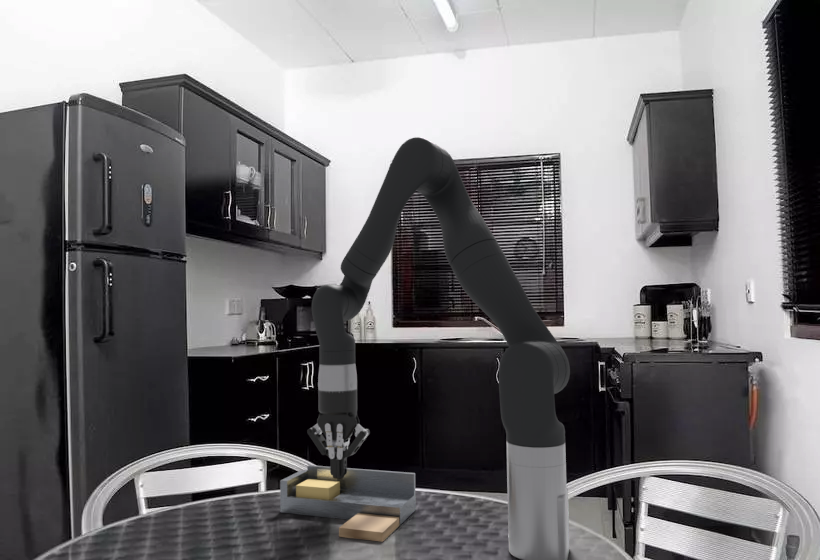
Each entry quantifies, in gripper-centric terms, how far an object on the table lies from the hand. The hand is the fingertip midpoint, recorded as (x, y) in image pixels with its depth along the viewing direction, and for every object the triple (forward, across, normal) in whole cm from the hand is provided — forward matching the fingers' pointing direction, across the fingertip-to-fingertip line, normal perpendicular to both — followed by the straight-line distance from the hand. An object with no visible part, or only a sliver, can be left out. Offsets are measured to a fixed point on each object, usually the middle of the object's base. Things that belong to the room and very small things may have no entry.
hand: (338, 477), depth 117 cm
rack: (+6, -2, 0) cm, 7 cm away
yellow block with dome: (+4, +1, 0) cm, 4 cm away
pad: (+6, -10, +8) cm, 15 cm away
